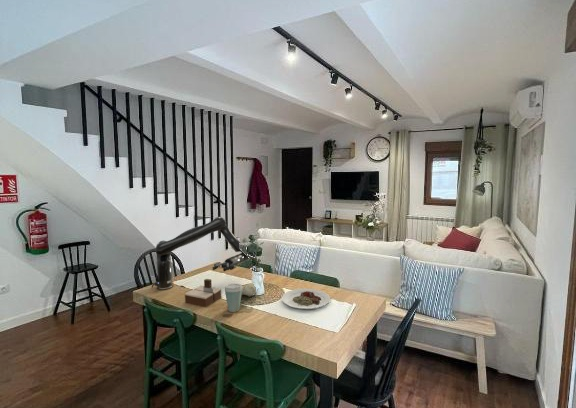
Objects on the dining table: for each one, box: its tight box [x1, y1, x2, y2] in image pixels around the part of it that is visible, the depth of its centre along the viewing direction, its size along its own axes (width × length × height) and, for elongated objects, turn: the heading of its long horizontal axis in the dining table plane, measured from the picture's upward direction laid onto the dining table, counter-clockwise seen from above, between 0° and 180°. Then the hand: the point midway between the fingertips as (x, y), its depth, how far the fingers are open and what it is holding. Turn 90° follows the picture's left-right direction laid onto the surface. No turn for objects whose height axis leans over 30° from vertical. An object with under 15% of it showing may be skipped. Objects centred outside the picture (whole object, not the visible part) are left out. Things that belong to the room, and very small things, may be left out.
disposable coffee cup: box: [223, 283, 244, 313], centre depth 184 cm, size 11×11×15 cm
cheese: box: [241, 282, 257, 298], centre depth 206 cm, size 15×7×15 cm
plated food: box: [281, 288, 331, 310], centre depth 195 cm, size 30×30×3 cm
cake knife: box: [203, 278, 213, 293], centre depth 197 cm, size 7×2×14 cm, turn 66°
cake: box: [184, 284, 222, 308], centre depth 199 cm, size 16×15×6 cm
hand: (218, 269), depth 206 cm, fingers open, 8 cm apart
